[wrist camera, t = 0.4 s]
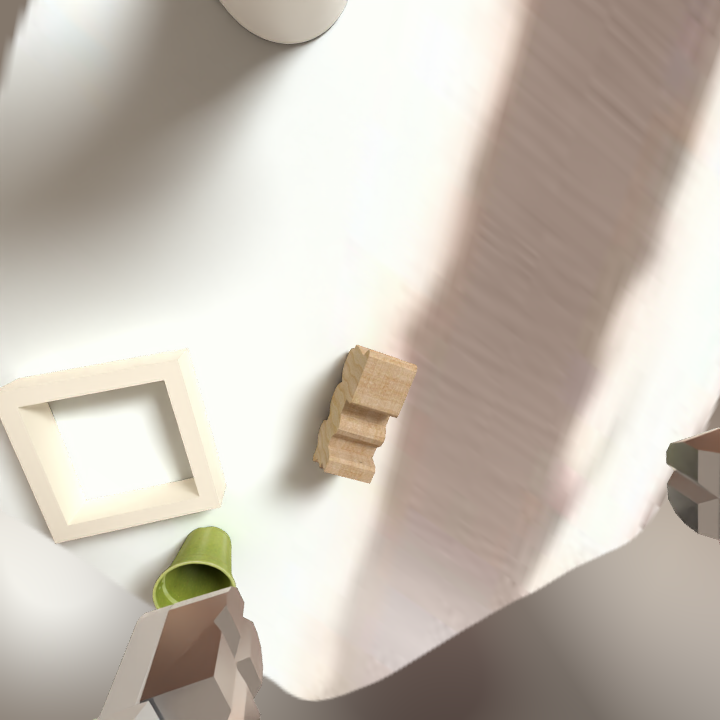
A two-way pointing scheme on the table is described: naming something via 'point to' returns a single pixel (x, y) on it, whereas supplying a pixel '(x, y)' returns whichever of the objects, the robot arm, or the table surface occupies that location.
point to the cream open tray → (56, 472)
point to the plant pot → (196, 568)
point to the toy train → (362, 412)
